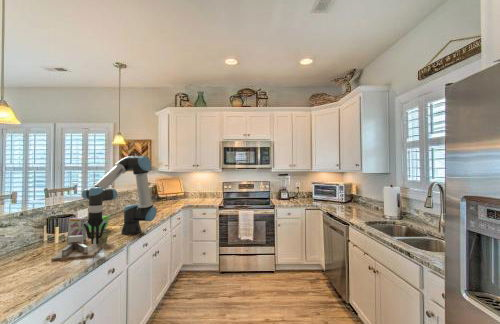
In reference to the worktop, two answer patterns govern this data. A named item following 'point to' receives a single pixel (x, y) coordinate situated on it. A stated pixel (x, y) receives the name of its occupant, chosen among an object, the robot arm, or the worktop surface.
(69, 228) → the candy bar box
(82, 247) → the tong jaw
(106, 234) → the tan flower pot
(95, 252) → the board
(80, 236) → the lock collar
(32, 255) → the worktop surface
